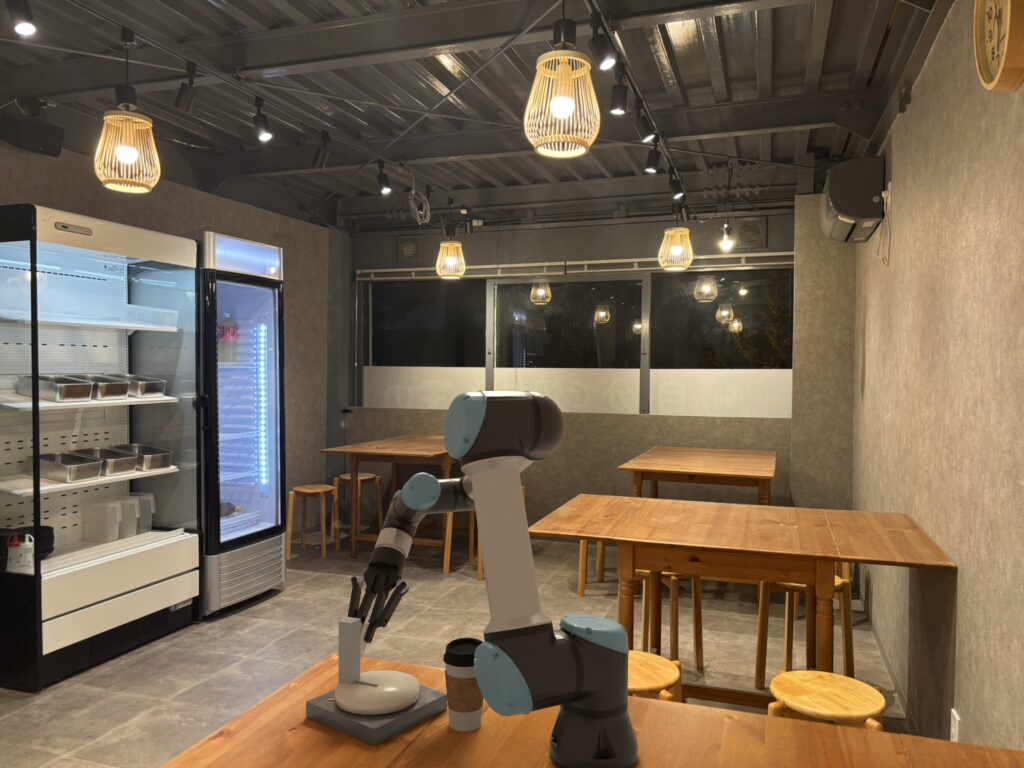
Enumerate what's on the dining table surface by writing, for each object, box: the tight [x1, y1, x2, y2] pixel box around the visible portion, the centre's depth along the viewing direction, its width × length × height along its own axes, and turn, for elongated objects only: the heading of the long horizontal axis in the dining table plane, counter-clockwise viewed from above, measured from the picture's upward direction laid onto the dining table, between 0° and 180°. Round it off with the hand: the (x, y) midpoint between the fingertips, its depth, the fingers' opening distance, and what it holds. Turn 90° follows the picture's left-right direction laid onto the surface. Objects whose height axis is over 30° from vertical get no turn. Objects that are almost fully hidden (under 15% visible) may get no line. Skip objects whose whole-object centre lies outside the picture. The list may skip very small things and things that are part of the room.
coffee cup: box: [442, 637, 484, 733], centre depth 142 cm, size 8×8×15 cm
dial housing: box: [305, 684, 448, 747], centre depth 147 cm, size 19×19×3 cm
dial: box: [334, 616, 420, 715], centre depth 147 cm, size 16×16×14 cm
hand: (354, 656), depth 153 cm, fingers closed
